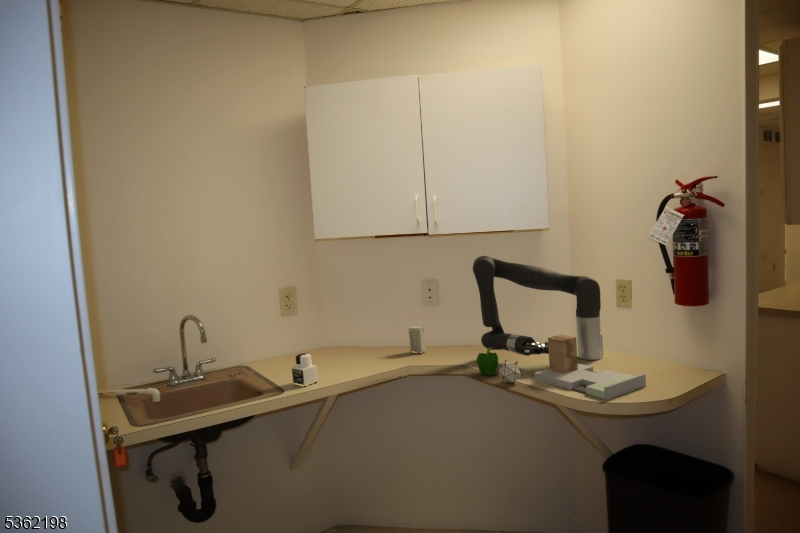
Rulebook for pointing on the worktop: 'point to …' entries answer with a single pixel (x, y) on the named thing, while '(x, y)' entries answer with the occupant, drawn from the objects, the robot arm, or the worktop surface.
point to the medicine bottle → (304, 370)
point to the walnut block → (562, 353)
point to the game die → (509, 372)
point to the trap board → (593, 381)
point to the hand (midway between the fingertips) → (554, 351)
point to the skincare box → (417, 339)
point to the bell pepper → (487, 362)
